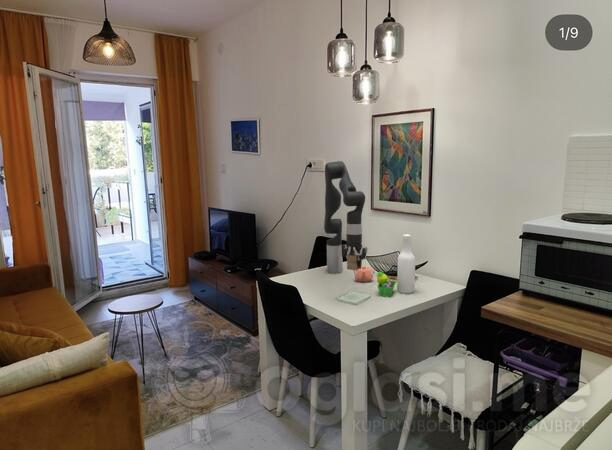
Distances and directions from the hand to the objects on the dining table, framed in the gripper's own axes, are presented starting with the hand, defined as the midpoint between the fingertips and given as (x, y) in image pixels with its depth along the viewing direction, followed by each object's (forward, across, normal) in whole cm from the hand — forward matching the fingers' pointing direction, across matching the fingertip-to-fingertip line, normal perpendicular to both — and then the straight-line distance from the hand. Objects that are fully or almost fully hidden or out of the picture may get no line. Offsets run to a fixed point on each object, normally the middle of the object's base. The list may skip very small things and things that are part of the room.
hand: (354, 266), depth 201 cm
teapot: (+17, +13, -30) cm, 37 cm away
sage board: (+17, 0, 0) cm, 17 cm away
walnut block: (+1, 0, 0) cm, 1 cm away
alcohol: (+17, -15, -26) cm, 34 cm away
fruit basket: (+17, -8, -17) cm, 25 cm away
